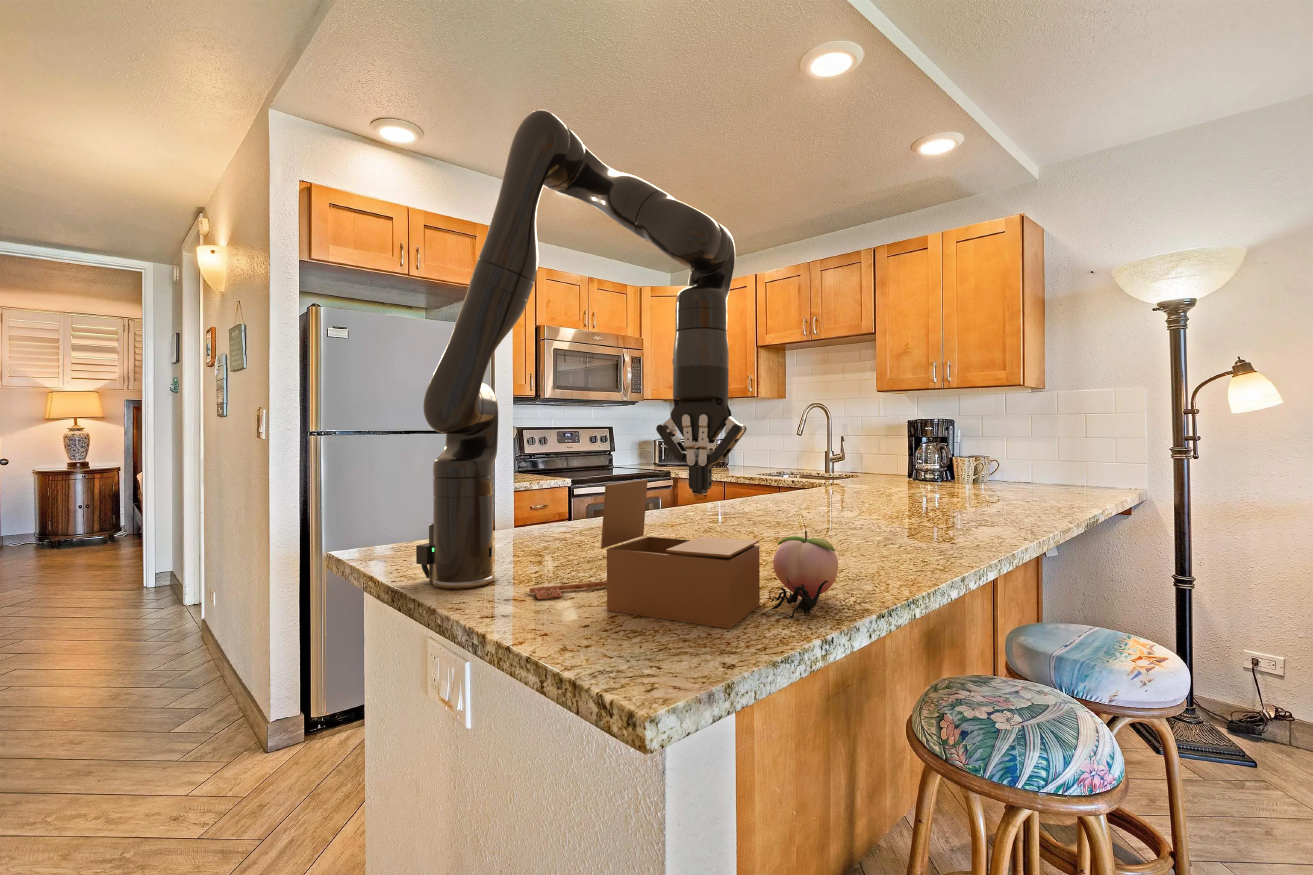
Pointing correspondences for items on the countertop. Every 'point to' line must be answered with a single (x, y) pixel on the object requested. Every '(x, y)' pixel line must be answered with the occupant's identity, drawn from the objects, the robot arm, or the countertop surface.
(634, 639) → the countertop surface
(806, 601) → the creature
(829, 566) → the decorative fruit
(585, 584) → the key
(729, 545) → the flap
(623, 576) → the carton
